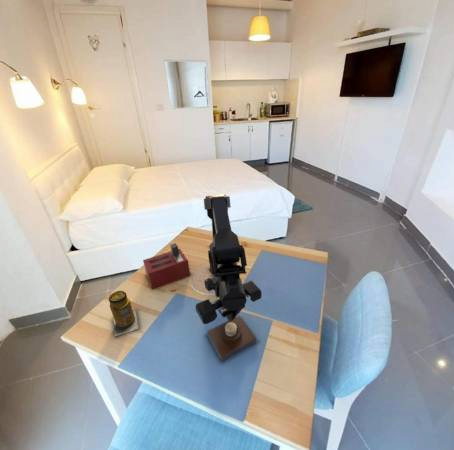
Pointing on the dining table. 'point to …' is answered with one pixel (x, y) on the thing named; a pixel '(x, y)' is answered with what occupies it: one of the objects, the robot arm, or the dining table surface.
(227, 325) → the button
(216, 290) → the robot arm
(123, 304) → the condiment
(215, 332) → the control block
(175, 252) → the toaster slider
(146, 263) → the toaster
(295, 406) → the dining table surface
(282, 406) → the dining table surface
